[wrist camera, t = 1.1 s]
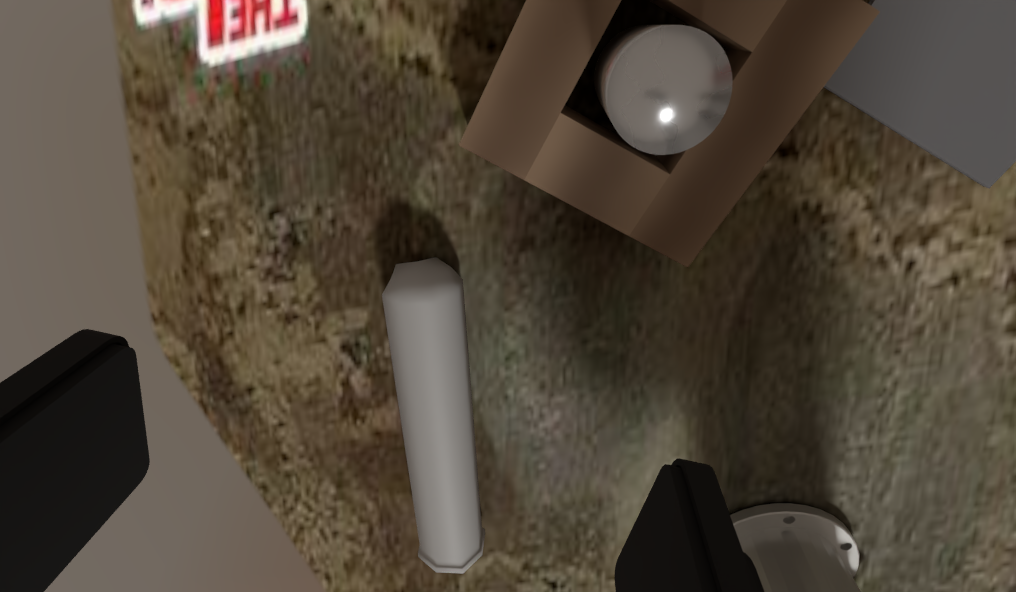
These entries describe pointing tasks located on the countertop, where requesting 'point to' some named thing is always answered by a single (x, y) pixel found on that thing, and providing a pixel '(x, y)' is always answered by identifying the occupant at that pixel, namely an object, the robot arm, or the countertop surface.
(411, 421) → the tube
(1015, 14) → the mat
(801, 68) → the bore block
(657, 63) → the round peg
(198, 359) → the countertop surface
